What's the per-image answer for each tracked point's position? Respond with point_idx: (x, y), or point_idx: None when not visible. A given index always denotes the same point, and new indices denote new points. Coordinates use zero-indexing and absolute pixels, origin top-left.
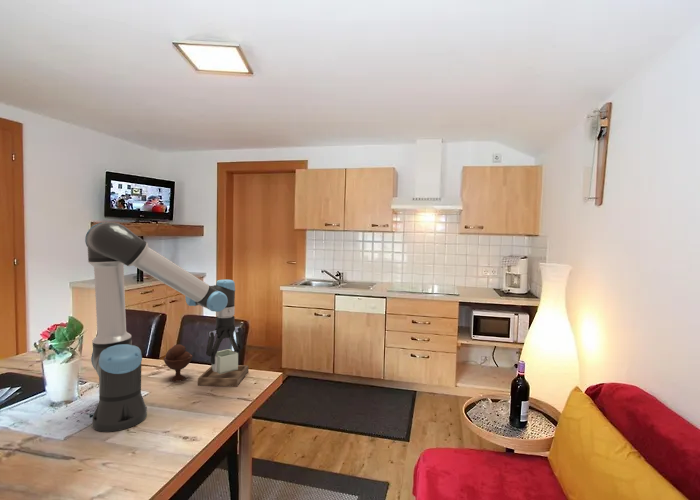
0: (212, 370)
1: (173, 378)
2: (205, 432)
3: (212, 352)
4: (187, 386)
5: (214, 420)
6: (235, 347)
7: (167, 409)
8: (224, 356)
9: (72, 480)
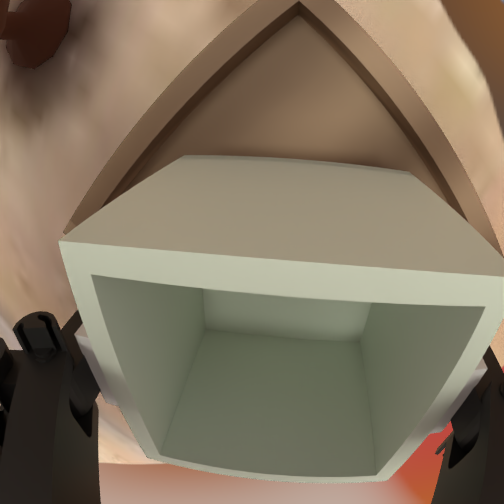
0: (259, 43)
1: (7, 45)
2: (100, 450)
3: (41, 389)
4: (47, 184)
5: (120, 445)
6: (440, 498)
7: (8, 331)
8: (201, 470)
9: None
